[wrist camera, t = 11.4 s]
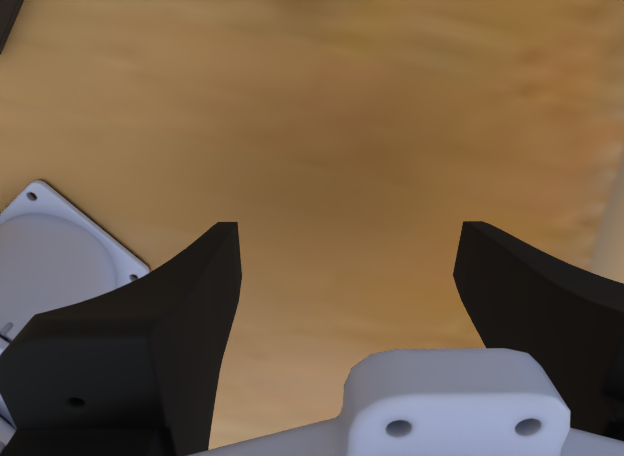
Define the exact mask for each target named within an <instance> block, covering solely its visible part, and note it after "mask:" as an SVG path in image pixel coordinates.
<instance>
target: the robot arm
mask: <svg viewBox="0 0 624 456" xmlns="http://www.w3.org/2000/svg"><path fill="white" fill-rule="evenodd" d="M31 192H32V193H34V194H35V195H36V197H37V198H35V197H33V196H32V195H31ZM132 274H134V275H137V276H138V278H135V277H133V276H132ZM453 277H454V280H455V283H456V286H457V289H458V292H459V295H460V298H461V300H462V302H463V304H464V307H465V308H466V310H467V312H468V314H469V316H470V318H471V320H472V322H473V324H474V326H475V328H476V330H477V331H478V333H479V335H480V337H481V339H482V341H483V343H484V345H485V346H486V348H481V349H394V350H389V351H384V352H379V353H375V354H371V355H369V356H368V357H366V358H365V359H364V360H362V361H361V362H359V363H358V364H357V365H355V366H354V367H352V368H351V371H350V373H349V375H348V378H347V380H346V382H345V384H344V396H343V406H342V410H341V413H340V414H339V416H337V417H336V418H333V419H329V420H325V421H321V422H317V423H313V424H309V425H305V426H301V427H297V428H293V429H289V430H285V431H281V432H278V433H274V434H270V435H266V436H262V437H258V438H254V439H250V440H246V441H242V442H238V443H234V444H230V445H227V446H223V447H219V448H215V449H211V450H208V446H209V438H210V431H211V424H212V417H213V411H214V404H215V397H216V391H217V385H218V379H219V373H220V368H221V363H222V359H223V355H224V352H225V348H226V344H227V341H228V337H229V334H230V330H231V327H232V323H233V320H234V316H235V313H236V309H237V305H238V302H239V295H240V287H241V280H242V271H241V259H240V247H239V235H238V223H237V222H218V223H216V224H215V225H214V226H212V227H211V228H210V229H209V230H208V231H207V232H205V233H204V234H203V235H202V236H201V237H199V238H198V239H197V240H196V241H195V242H193V243H192V244H191V245H190V246H188V247H187V248H186V249H184V250H183V251H182V252H180V253H179V254H177V255H176V256H175V257H173V258H172V259H171V260H169V261H168V262H166V263H165V264H163V265H162V266H160V267H158V268H157V269H155V270H153V271H152V272H150V270H149V268H148V267H147V266H146V265H145V264H144V263H143V262H141V261H140V260H139V259H138V258H137V257H135V256H134V255H133V254H132V253H131V252H129V251H128V250H127V249H126V248H124V247H123V246H122V245H121V244H120V243H118V242H117V241H116V240H115V239H113V238H112V237H111V236H110V235H109V234H107V233H106V232H105V231H104V230H102V229H101V228H100V227H99V226H98V225H96V224H95V223H94V222H93V221H91V220H90V219H89V218H88V217H87V216H85V215H84V214H83V213H82V212H81V211H79V210H78V209H77V208H76V207H74V206H73V205H72V204H71V203H70V202H68V201H67V200H66V199H65V198H63V197H62V196H61V195H60V194H59V193H57V192H56V191H55V190H54V189H52V188H51V187H50V186H49V185H48V184H46V183H45V182H43V181H40V180H35V181H33V182H32V183H30V184H29V185H28V186H27V187H26V188H25V189H24V190H23V191H22V192H21V193H20V194H19V195H18V196H17V197H16V198H15V199H14V200H13V201H12V203H11V204H10V205H9V206H8V207H7V208H6V209H5V210H4V211H3V212H2V213H1V214H0V456H624V284H623V283H619V282H616V281H613V280H610V279H607V278H604V277H601V276H599V275H596V274H593V273H591V272H588V271H586V270H583V269H580V268H578V267H575V266H573V265H571V264H568V263H566V262H564V261H562V260H559V259H557V258H555V257H553V256H551V255H549V254H547V253H545V252H543V251H541V250H539V249H537V248H535V247H533V246H531V245H529V244H527V243H525V242H523V241H521V240H519V239H518V238H516V237H514V236H512V235H510V234H508V233H506V232H504V231H502V230H501V229H499V228H497V227H495V226H492V225H490V224H488V223H485V222H482V221H465V222H463V226H462V231H461V236H460V241H459V246H458V251H457V257H456V262H455V267H454V272H453Z"/></svg>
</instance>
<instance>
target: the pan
mask: <svg viewBox="0 0 624 456" xmlns="http://www.w3.org/2000/svg"><path fill="white" fill-rule="evenodd" d="M22 2H23V0H0V53H1V51H2V49H3V46H4V44H5V42H6V39H7V37H8V35H9V32H10V30H11V28H12V25H13V23H14V21H15V18H16V16H17V14H18V11H19V9H20V7H21V4H22Z"/></svg>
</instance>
